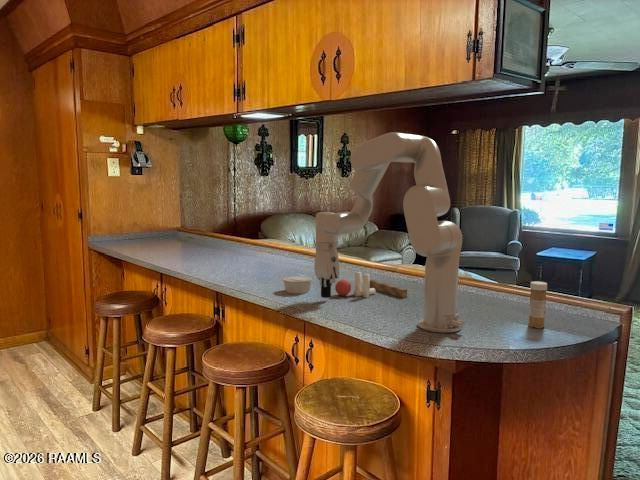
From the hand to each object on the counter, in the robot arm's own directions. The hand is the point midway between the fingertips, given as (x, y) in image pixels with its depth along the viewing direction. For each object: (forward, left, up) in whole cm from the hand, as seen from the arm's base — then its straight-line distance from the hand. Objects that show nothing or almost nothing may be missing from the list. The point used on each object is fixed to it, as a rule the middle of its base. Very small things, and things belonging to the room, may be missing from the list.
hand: (325, 296), depth 175 cm
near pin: (-2, -16, -2) cm, 17 cm away
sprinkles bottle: (-59, -37, -2) cm, 70 cm away
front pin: (0, -13, 0) cm, 13 cm away
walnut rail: (0, -28, -2) cm, 28 cm away
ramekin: (+19, +1, -2) cm, 19 cm away
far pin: (+2, -16, -2) cm, 17 cm away
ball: (+4, -10, +2) cm, 11 cm away
